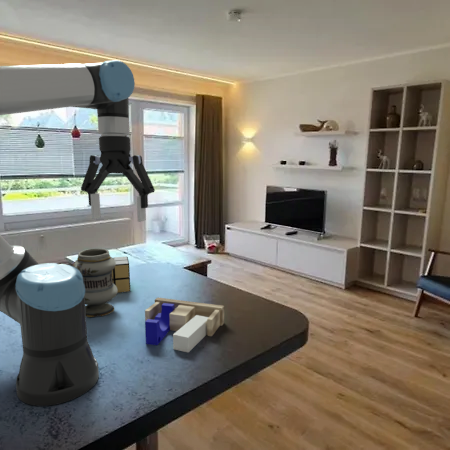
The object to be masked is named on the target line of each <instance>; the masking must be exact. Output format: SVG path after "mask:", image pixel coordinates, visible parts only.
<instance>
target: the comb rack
mask: <svg viewBox="0 0 450 450" xmlns="http://www.w3.org/2000/svg"><path fill="white" fill-rule="evenodd" d="M163 303H168V304H174V310H173V311H172V312H171V313H170V314H169V315H170V331H174V332H177V331H178V330H179V329H180V328H181V327H183V326H184V325H185V324H186V323H187V322H189V321H190V320H191V319H192V318H193V317H195V316H196V315H199V316H204V317H209V318H208V319H207V335H206V336H208V337H213V335H214V334H215V333H216V331H217V330H218V329H219V328H220V326H222V327H223V325H224V324H225V305H223V304H213V303H212V304H211V303H206V302H205V303H204V302H197V301H195V302H194V301H187V300H179V299H172V298H166V297H156V298H155V299H154V303H153V304H151V305H150V306H149V307H148V308H146V309H145V310H144V318H145V319H144V322H145V321H146V320H147V319H152V320H154V319H155V316H156V315H157V314H158V313H161V310H162V304H163Z"/></svg>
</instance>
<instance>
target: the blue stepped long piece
mask: <svg viewBox="0 0 450 450" xmlns="http://www.w3.org/2000/svg"><path fill="white" fill-rule="evenodd" d="M173 310H174V304H168V303H163V304H162V310H161V313H158V314H157V315H156V316H155V319H154V320H152V319H147V320H146V321H145V320H144V329H145V331H144V332H145V334H144V335H145V345H151V346H158V345H159V344H160V343H161V341H163V340H164V339H165V337H166V336H167V334H168V333H169V332H170V331H171V330H170V315H169V314H170V313H171V312H172V311H173Z"/></svg>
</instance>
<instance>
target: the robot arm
mask: <svg viewBox="0 0 450 450" xmlns="http://www.w3.org/2000/svg"><path fill="white" fill-rule="evenodd" d="M135 82H136V81H135V78H134V74H133V71H132V69H130V67H129V65H127V64H126V63H124V62H123V61H122V60H119V59H118V60H117V59H115V60H114V59H113V60H105V61H103V62H93V63H64V64H62V63H61V64H59V63H58V64H30V65H28V64H27V65H1V66H0V116H5V115H12V114H14V115H15V114H21V113H29V112H37V111H38V112H39V111H45V110H46V111H48V110H55V109H62V108H69V107H70V108H78V109H79V108H80V109H90V110H91V109H92V110H96V111H97V131H98V134H99V135H101V136H99V137H98V144H99V145H98V148H99V152H100V155H96V154H94V155H93V154H92V155H90V156H89V164H88V167H87V169H86V172H85V176H84V179H83V180H82V184H81V186H80V190H81V191H82V192H85V193H87V195H88V196H87V198H88V205H89V206H90V208H91V209H90V210H91V211H90V212H91V219H92V220H95V219H99V218H101V215H102V214H101V199H100V193H99V192H98V190H99V189H100V187H101V186H102V185H103V183H104V182H105V180H106V178H107V177H108V175H111V174H122V175H123V176H125V177H126V178H127V180H128V182H129V183H130V184H131V185H132V186H133V188H134V189H135V190H136V192H137V193H138V195H136V211H137V213H136V215H137V222H138V223H139V222H140V223H141V222H144V221H146V219H147V218H146V217H147V216H146V208H148V207H149V201H148V200H149V198H148V197H149V195H150V194H151V193H154V192H155V187H154V185H153V183H152V181H151V179H150V176H149V174H148V173H147V172H148V171H147V170H146V168H145V166H144V164H143V157H142V156H141V155H139V154H138V155H135V154H134V155H133V156H131V154H130V153H131V138H130V137H129V135H130V110H129V109H130V107H129V100H130V99H129V98H130V97H131V96H132V95H133V92H134V91H135V87H136V85H135V84H136V83H135ZM100 164H101V167H100ZM130 164H132V165H133V167H134V169H135V171H136V174H137V175H136V174H135V172H134V170H133V168H132V166H130ZM99 167H100V168H99ZM85 306H86V304H85V286H84V283H83V277H82V274H81V273H80V271H79V270H78V269H76V268H75V267H73V265H69V264H65V263H61V264H59V263H57V262H47V263H38V261H36V259H35V258H34V257H33V256H32V255H31V254H30V253H29V252H28V251H27V250H26V249H25V248H24V247H23V246H22V245H11V244H10V243H9V242H8V241H7V240H6V239H5V238H4V237H3V236H2V234H0V312H1V313H3V314H4V315H6V316H7V317H10V319H12V320H13V321H15V322H17V323H18V324H20V325H19V326H20V333H21V344H22V351H23V352H22V353H23V354H22V358H21V361H20V365H19V371H18V374H17V377H16V381H15V389H16V395H17V397H18V399H19V400H20V401H21V402H23V403H24V404H28V405H30V406H36V407H39V406H41V407H43V406H45V407H46V406H55V405H59V404H63V403H66V402H70V401H73V400H75V399H77V398H79V397H81V396H82V395H84V394H86V393H88V392H89V391H90V390H91V389H92V388H93V387H94V386H95V385H96V383H97V382H98V379H99V376H100V371H99V363H98V361H97V359H96V358H95V355H94V354H93V351H92V348H91V346H90V343H89V340H88V328H87V317H86V309H85Z"/></svg>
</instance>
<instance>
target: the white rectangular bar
mask: <svg viewBox="0 0 450 450" xmlns="http://www.w3.org/2000/svg"><path fill="white" fill-rule="evenodd" d="M208 318H209V317H204V316H199V315H196V316H195V317H193V318H192V319H191V320H190V321H189V322H187V323H186V324H185V325H184V326H183V327H181V328H180V329H179V330H178V331H174V333H173V334H172V340H173V341H172V342H173V343H172V345H173V346H172V347H173V350H175V351H181V352H184V353H190V351H192V349H193V348H195V347H196V345H197V344H199V343H200V342H201V341H202V340H203V339H204V338H205V337H206V336H207V319H208Z"/></svg>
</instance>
